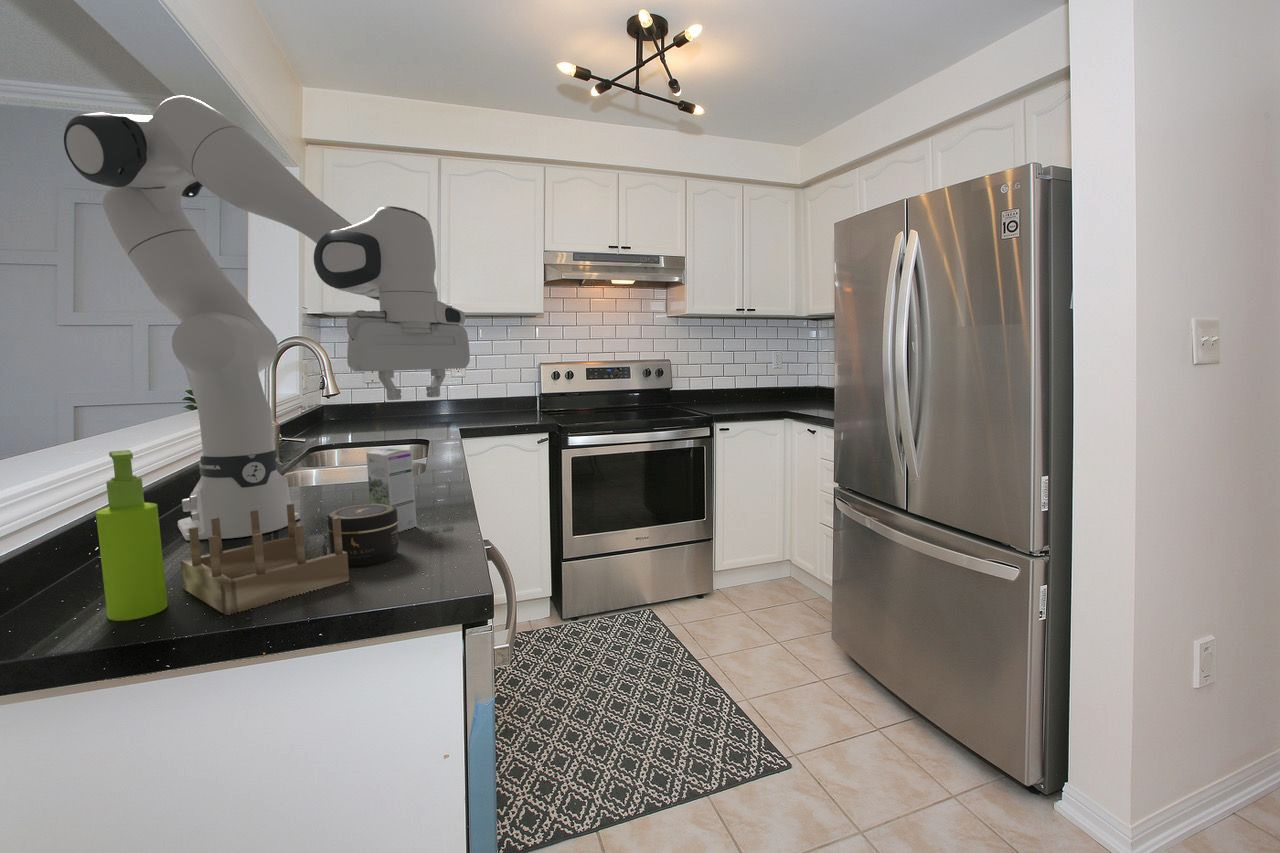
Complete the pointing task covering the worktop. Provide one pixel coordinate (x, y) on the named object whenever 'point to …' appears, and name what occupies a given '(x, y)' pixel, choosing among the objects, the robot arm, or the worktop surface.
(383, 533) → the jar
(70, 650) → the worktop surface
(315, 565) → the dish rack
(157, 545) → the soap dispenser
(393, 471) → the syrup box
